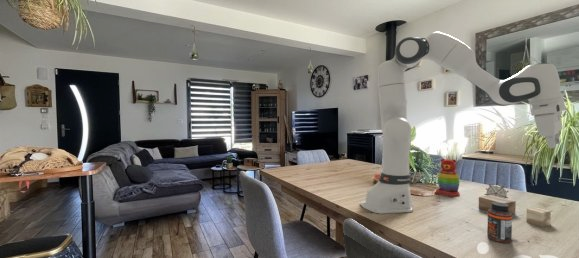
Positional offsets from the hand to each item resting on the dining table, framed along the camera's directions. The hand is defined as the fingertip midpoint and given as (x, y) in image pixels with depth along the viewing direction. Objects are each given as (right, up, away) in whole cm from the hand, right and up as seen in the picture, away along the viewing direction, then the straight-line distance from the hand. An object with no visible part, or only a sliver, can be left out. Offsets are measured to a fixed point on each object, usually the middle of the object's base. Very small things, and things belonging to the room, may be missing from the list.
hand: (554, 145), depth 93 cm
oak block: (-8, -28, -2) cm, 29 cm away
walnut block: (-13, -27, +10) cm, 31 cm away
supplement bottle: (-29, -29, -11) cm, 42 cm away
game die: (0, -27, +26) cm, 38 cm away
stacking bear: (-14, -27, +39) cm, 50 cm away
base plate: (-13, -28, +10) cm, 32 cm away
